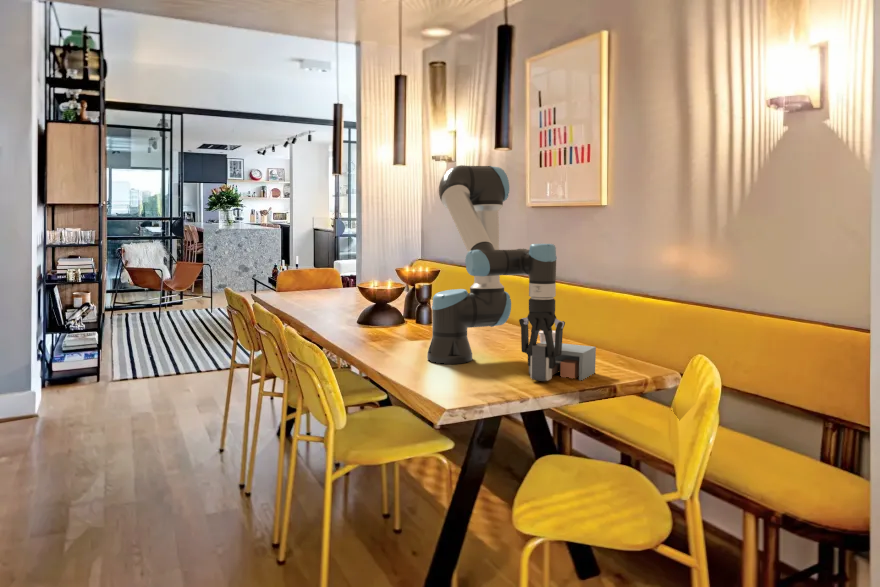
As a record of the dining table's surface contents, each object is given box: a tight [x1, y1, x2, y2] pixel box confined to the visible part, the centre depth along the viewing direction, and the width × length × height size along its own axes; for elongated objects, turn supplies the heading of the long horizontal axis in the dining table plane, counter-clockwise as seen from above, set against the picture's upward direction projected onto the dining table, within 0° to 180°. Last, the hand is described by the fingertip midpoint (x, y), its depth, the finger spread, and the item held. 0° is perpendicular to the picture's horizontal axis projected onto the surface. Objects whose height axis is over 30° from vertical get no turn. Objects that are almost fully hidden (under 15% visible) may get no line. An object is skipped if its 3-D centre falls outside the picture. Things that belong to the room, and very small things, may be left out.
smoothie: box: [538, 329, 556, 343], centre depth 218 cm, size 6×6×14 cm
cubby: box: [528, 342, 597, 381], centre depth 199 cm, size 17×11×8 cm, turn 57°
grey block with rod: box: [531, 342, 564, 382], centre depth 193 cm, size 8×17×10 cm, turn 148°
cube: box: [559, 359, 579, 379], centre depth 196 cm, size 4×4×4 cm
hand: (540, 378), depth 189 cm, fingers closed on grey block with rod, 4 cm apart
